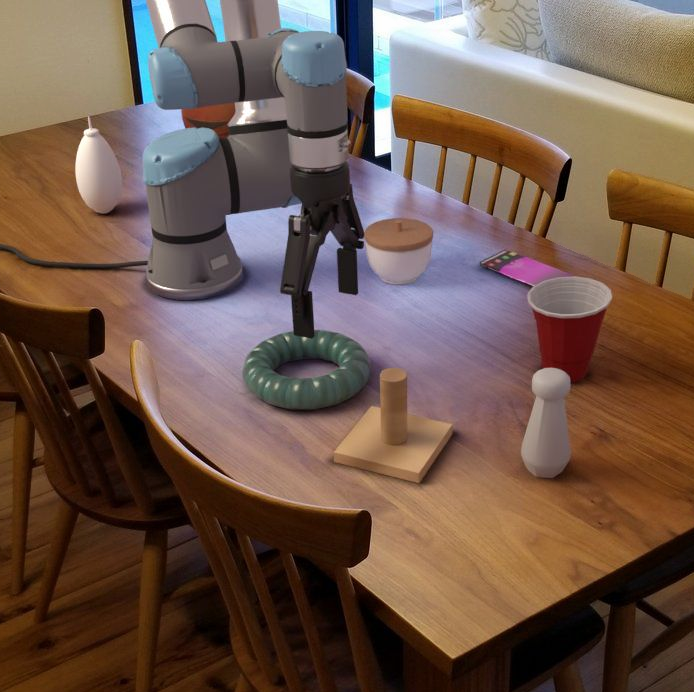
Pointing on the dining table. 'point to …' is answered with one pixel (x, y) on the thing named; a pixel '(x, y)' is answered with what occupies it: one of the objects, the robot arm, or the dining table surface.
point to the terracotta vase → (210, 118)
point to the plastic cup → (568, 321)
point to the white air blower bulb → (97, 172)
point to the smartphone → (522, 268)
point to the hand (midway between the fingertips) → (327, 313)
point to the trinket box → (398, 249)
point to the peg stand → (393, 435)
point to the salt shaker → (547, 425)
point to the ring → (306, 389)
